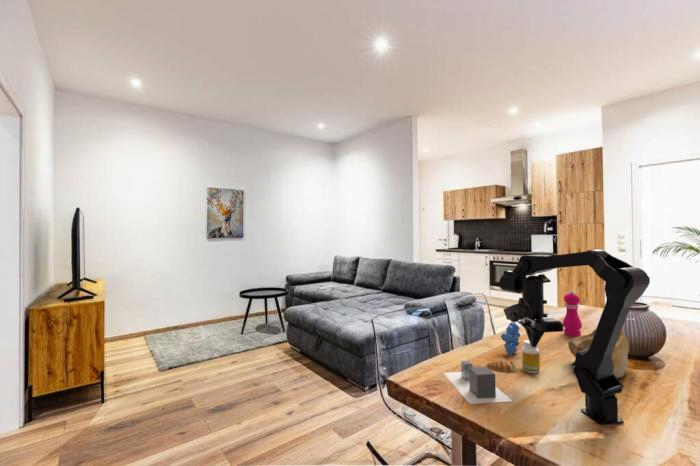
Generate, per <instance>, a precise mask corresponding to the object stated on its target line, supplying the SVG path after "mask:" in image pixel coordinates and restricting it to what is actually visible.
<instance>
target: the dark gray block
mask: <svg viewBox="0 0 700 466" xmlns="http://www.w3.org/2000/svg"><path fill="white" fill-rule="evenodd" d="M469 381H470V391H471V392H472V393H473V394H474V395H475V396H476V397H477V398H478V399H479V398H496V387H497V386H496V373H494V371H492V369H489V368H488V367H486V366H473V367H469Z"/></svg>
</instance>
